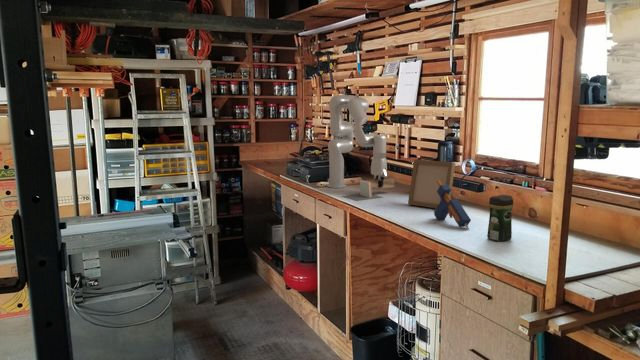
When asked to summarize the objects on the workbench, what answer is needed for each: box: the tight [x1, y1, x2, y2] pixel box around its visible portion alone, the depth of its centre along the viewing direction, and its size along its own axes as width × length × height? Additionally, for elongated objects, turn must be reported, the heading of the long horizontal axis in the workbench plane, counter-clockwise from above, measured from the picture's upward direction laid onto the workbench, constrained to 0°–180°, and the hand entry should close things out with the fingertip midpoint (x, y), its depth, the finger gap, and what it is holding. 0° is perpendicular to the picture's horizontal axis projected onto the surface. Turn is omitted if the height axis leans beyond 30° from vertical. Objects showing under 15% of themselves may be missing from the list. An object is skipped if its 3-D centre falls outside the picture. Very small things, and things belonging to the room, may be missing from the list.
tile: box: [359, 179, 373, 198], centre depth 290 cm, size 9×2×9 cm, turn 32°
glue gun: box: [433, 180, 472, 231], centre depth 232 cm, size 6×31×15 cm
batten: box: [366, 177, 396, 190], centre depth 296 cm, size 3×20×5 cm, turn 122°
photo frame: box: [407, 159, 456, 209], centre depth 266 cm, size 15×22×25 cm
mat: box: [340, 193, 384, 202], centre depth 290 cm, size 16×20×1 cm
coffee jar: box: [486, 194, 514, 242], centre depth 204 cm, size 10×8×19 cm
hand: (378, 186), depth 295 cm, fingers closed on batten, 2 cm apart
